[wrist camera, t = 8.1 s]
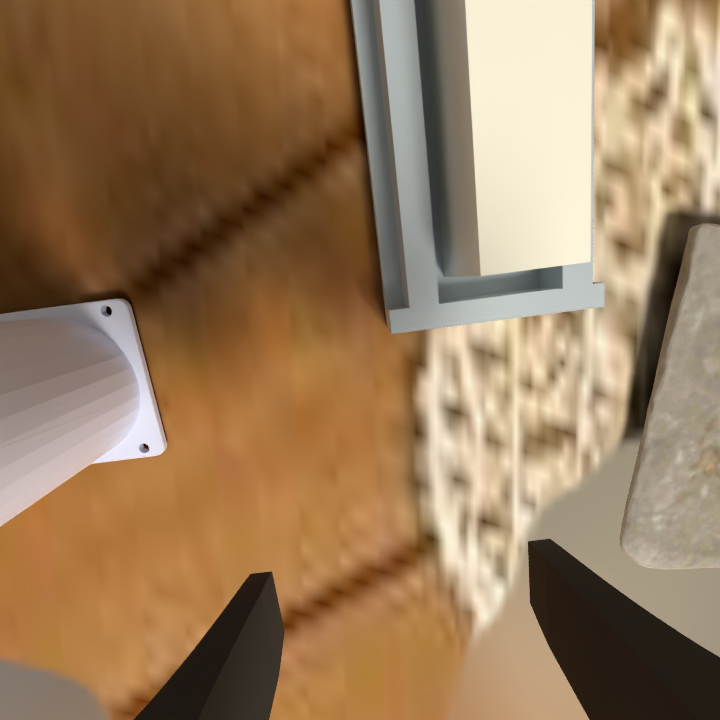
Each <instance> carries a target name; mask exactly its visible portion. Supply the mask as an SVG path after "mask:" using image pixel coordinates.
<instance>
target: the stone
mask: <svg viewBox="0 0 720 720" xmlns="http://www.w3.org/2000/svg"><path fill="white" fill-rule="evenodd" d="M620 545H621V548H622V551H623V552H624V554H625V555H626V556H627V557H629V558H630V559H631V560H633V561H634V562H636V563H637V564H639V565H641V566H643V567H645V568H656V569H690V568H713V567H720V225H719V224H713V223H702V224H699V225H696V226H693V227H691V228H690V230H689V232H688V239H687V243H686V246H685V250H684V254H683V260H682V264H681V268H680V272H679V276H678V280H677V284H676V288H675V292H674V296H673V300H672V304H671V308H670V312H669V316H668V320H667V325H666V329H665V334H664V338H663V343H662V348H661V352H660V357H659V362H658V366H657V371H656V376H655V381H654V385H653V390H652V394H651V398H650V402H649V406H648V409H647V416H646V420H645V424H644V429H643V434H642V438H641V442H640V447H639V451H638V456H637V461H636V465H635V469H634V473H633V477H632V482H631V486H630V490H629V495H628V499H627V502H626V507H625V513H624V518H623V523H622V529H621V535H620Z"/></svg>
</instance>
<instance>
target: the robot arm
mask: <svg viewBox="0 0 720 720" xmlns="http://www.w3.org/2000/svg"><path fill="white" fill-rule="evenodd" d="M107 306H109V307H110V308H111V310H112V314H111V316H110V315H109V314H108V313H107V311H106V308H107ZM143 444H147V445H148V446H149V449H146V448H144V446H143ZM166 448H167V442H166V438H165V434H164V430H163V426H162V423H161V419H160V415H159V411H158V407H157V403H156V399H155V396H154V392H153V388H152V384H151V380H150V376H149V372H148V369H147V365H146V361H145V357H144V353H143V349H142V346H141V342H140V338H139V334H138V330H137V326H136V322H135V319H134V315H133V311H132V307H131V305H130V303H129V302H128V301H126V300H124V299H110V300H102V301H95V302H87V303H80V304H72V305H65V306H57V307H50V308H42V309H35V310H27V311H19V312H12V313H4V314H0V526H2V525H3V524H5V523H6V522H8V521H9V520H10V519H12V518H13V517H15V516H16V515H18V514H19V513H21V512H22V511H23V510H25V509H26V508H28V507H29V506H31V505H32V504H34V503H35V502H36V501H38V500H39V499H41V498H42V497H44V496H45V495H47V494H48V493H49V492H51V491H52V490H54V489H55V488H57V487H58V486H59V485H61V484H62V483H64V482H65V481H67V480H68V479H70V478H71V477H72V476H74V475H75V474H77V473H78V472H80V471H81V470H83V469H84V468H85V467H87V466H88V465H90V464H93V463H101V462H109V461H117V460H125V459H134V458H142V457H150V456H157V455H160V454H161V453H162V452H163V451H165V450H166ZM528 555H529V583H530V603H531V606H532V608H533V611H534V613H535V615H536V618H537V620H538V622H539V625H540V627H541V629H542V631H543V634H544V636H545V638H546V641H547V643H548V645H549V647H550V649H551V651H552V653H553V654H554V656H555V658H556V660H557V662H558V664H559V665H560V667H561V669H562V671H563V673H564V674H565V676H566V678H567V680H568V682H569V683H570V685H571V687H572V689H573V691H574V692H575V694H576V696H577V698H578V700H579V701H580V703H581V705H582V707H583V709H584V710H585V712H586V714H587V716H588V718H589V719H590V720H720V657H718V656H716V655H715V654H713V653H712V652H710V651H708V650H707V649H705V648H703V647H701V646H700V645H698V644H697V643H695V642H694V641H692V640H690V639H689V638H687V637H686V636H684V635H682V634H681V633H679V632H678V631H676V630H675V629H673V628H672V627H670V626H669V625H667V624H666V623H664V622H663V621H661V620H660V619H658V618H657V617H655V616H654V615H652V614H651V613H649V612H648V611H646V610H645V609H644V608H642V607H641V606H639V605H638V604H637V603H635V602H634V601H632V600H631V599H629V598H628V597H627V596H625V595H624V594H622V593H621V592H620V591H618V590H617V589H616V588H614V587H613V586H612V585H610V584H609V583H607V582H606V581H605V580H603V579H602V578H601V577H599V576H598V575H597V574H595V573H594V572H593V571H592V570H590V569H589V568H587V567H586V566H585V565H584V564H582V563H581V562H580V561H578V560H577V559H576V558H575V557H573V556H572V555H571V554H569V553H568V552H567V551H565V550H564V549H563V548H562V547H560V546H559V545H557V544H556V543H555V542H554V541H552V540H551V539H545V540H536V541H528ZM283 639H284V627H283V622H282V617H281V613H280V608H279V603H278V598H277V594H276V589H275V584H274V579H273V575H272V572H264V573H255V574H250V575H249V577H248V578H247V579H246V581H245V582H244V583H243V585H242V586H241V587H240V589H239V590H238V591H237V593H236V594H235V595H234V597H233V598H232V600H231V601H230V602H229V604H228V605H227V606H226V608H225V609H224V610H223V612H222V613H221V615H220V616H219V617H218V619H217V620H216V621H215V623H214V624H213V625H212V626H211V628H210V629H209V630H208V632H207V633H206V634H205V636H204V637H203V638H202V640H201V641H200V642H199V643H198V645H197V646H196V647H195V649H194V650H193V651H192V652H191V654H190V655H189V656H188V657H187V659H186V660H185V661H184V662H183V663H182V665H181V666H180V667H179V668H178V669H177V671H176V672H175V673H174V674H173V675H172V677H171V678H170V679H169V680H168V682H167V683H166V684H165V685H164V686H163V687H162V689H161V690H160V691H159V692H158V693H157V694H156V696H155V697H154V698H153V699H152V700H151V701H150V702H149V703H148V705H147V706H146V707H145V708H144V709H143V710H142V711H141V712H140V713H139V714H138V716H137V717H136V718H135V719H134V720H269V717H270V713H271V708H272V704H273V699H274V695H275V691H276V686H277V681H278V677H279V670H280V663H281V656H282V647H283Z"/></svg>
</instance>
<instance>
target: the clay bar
mask: <svg viewBox="0 0 720 720" xmlns="http://www.w3.org/2000/svg"><path fill="white" fill-rule="evenodd" d="M423 8H424V21H425V34H426V46H427V59H428V72H429V85H430V98H431V111H432V124H433V137H434V150H435V162H436V175H437V188H438V201H439V214H440V227H441V240H442V253H443V266H444V277H471V276H486V275H494V274H502V273H509V272H517V271H525V270H532V269H540V268H547V267H555V266H563V265H570V264H578V263H586V262H591V103H592V0H423Z"/></svg>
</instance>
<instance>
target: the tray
mask: <svg viewBox="0 0 720 720" xmlns="http://www.w3.org/2000/svg"><path fill="white" fill-rule="evenodd" d="M350 4H351V13H352V22H353V31H354V39H355V48H356V57H357V66H358V75H359V83H360V92H361V101H362V110H363V119H364V128H365V136H366V145H367V154H368V163H369V172H370V180H371V189H372V198H373V207H374V216H375V225H376V233H377V242H378V251H379V260H380V269H381V277H382V286H383V295H384V304H385V313H386V322H387V327H388V329H389V330H390V332H391V333H392V334H395V333H403V332H411V331H419V330H426V329H434V328H442V327H450V326H457V325H465V324H473V323H481V322H488V321H496V320H504V319H512V318H519V317H527V316H535V315H543V314H551V313H558V312H566V311H574V310H582V309H589V308H597V307H604V283H603V282H593V164H594V14H595V0H592V103H591V262H586V263H578V264H570V265H563V266H555V267H547V268H540V269H532V270H525V271H517V272H509V273H502V274H494V275H486V276H471V277H444V266H443V253H442V240H441V227H440V214H439V201H438V188H437V175H436V162H435V150H434V137H433V124H432V111H431V98H430V85H429V72H428V59H427V46H426V34H425V21H424V8H423V0H350Z"/></svg>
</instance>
